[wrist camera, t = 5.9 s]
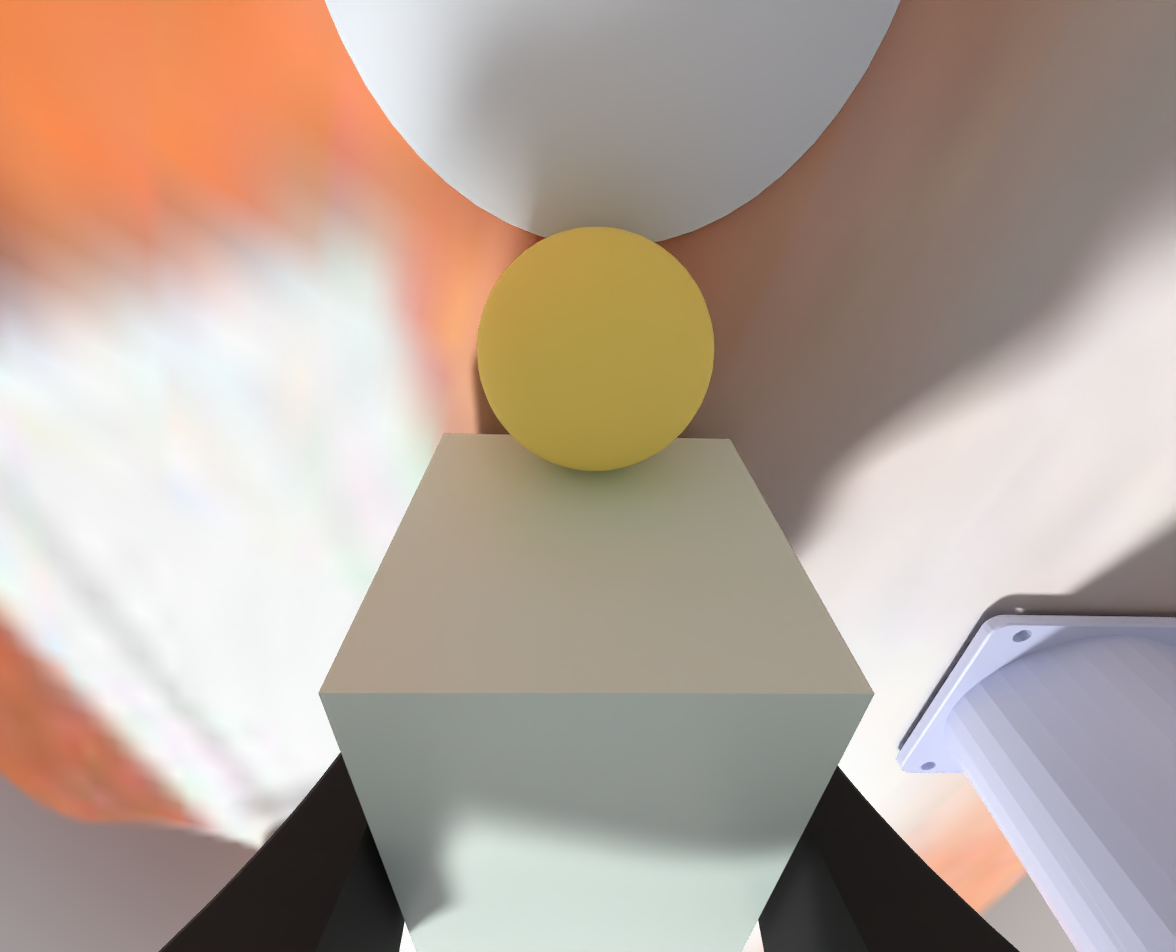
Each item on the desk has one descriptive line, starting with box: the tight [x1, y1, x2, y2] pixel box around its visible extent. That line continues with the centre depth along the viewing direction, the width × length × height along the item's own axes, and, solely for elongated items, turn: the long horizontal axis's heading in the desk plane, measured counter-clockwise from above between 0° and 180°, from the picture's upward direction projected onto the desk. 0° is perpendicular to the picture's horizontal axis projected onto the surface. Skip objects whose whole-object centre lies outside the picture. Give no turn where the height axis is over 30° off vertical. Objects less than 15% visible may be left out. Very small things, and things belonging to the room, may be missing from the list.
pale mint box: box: [319, 433, 874, 952], centre depth 11 cm, size 6×10×6 cm, turn 178°
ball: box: [477, 227, 714, 471], centre depth 9 cm, size 4×4×4 cm
